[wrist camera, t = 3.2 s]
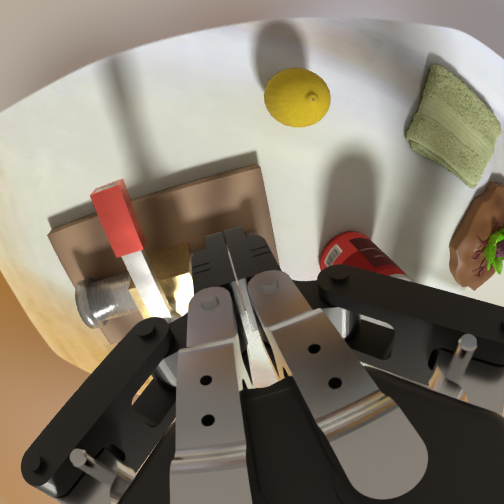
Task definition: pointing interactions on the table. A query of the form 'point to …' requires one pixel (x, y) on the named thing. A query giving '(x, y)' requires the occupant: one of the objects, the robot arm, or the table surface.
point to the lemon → (297, 97)
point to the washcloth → (454, 127)
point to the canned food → (360, 259)
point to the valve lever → (130, 245)
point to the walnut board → (167, 229)
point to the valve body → (126, 294)
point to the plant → (479, 239)
